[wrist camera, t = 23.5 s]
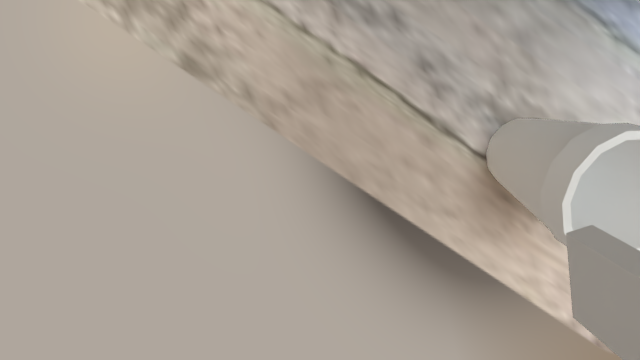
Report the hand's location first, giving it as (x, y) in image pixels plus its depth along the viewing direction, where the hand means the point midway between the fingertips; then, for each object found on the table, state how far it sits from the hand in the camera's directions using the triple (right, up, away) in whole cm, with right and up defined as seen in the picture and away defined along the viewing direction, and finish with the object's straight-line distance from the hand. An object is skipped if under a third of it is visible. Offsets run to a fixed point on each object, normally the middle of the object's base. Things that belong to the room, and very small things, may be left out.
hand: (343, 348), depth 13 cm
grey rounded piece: (+18, +7, +32) cm, 37 cm away
